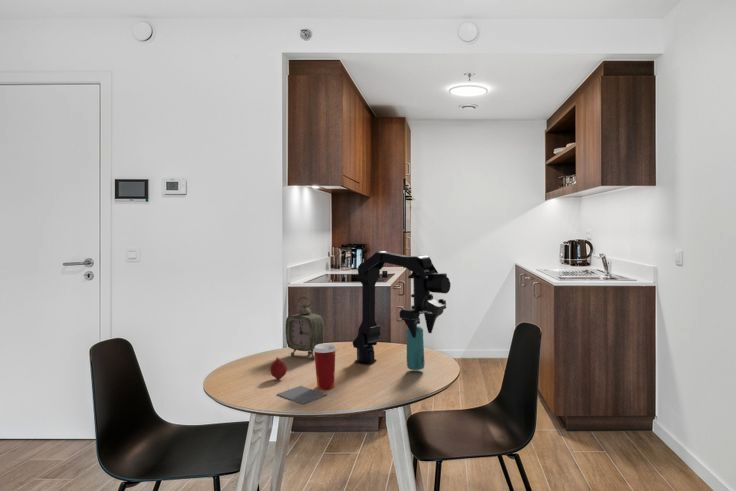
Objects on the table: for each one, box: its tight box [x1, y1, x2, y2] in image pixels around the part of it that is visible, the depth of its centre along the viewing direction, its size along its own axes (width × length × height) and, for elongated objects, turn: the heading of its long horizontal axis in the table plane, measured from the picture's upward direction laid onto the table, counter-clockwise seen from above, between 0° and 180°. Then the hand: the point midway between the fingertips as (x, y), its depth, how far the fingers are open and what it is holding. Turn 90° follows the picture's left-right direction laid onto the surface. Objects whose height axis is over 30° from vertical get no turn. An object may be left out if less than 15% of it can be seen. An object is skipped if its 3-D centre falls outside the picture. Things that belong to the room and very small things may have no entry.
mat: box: [276, 385, 328, 405], centre depth 150 cm, size 13×10×1 cm
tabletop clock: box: [285, 296, 325, 360], centre depth 195 cm, size 14×9×25 cm, turn 58°
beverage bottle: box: [405, 317, 425, 371], centre depth 171 cm, size 6×7×20 cm
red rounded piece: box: [269, 356, 288, 381], centre depth 166 cm, size 6×6×8 cm
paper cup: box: [313, 342, 337, 391], centre depth 157 cm, size 8×8×14 cm
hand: (422, 335), depth 166 cm, fingers open, 9 cm apart
